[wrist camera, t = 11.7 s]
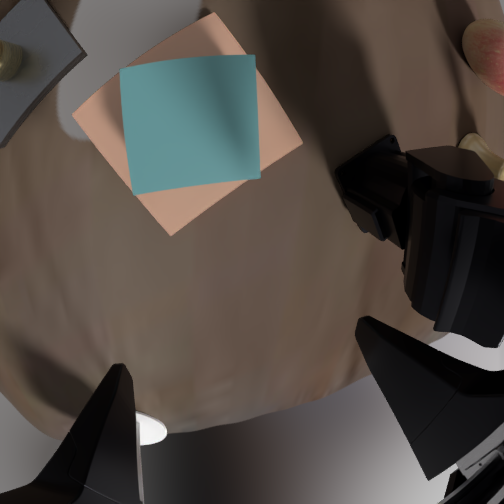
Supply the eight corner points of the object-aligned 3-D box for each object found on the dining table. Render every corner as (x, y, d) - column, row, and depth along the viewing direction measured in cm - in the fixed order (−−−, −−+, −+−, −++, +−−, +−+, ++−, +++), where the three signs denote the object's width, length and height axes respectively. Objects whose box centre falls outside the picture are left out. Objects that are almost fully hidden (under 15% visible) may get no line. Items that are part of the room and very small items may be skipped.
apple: (484, 103, 20) (538, 116, 13) (445, 59, 17) (510, 63, 10) (490, 51, 16) (539, 57, 10) (452, 5, 14) (507, 2, 7)
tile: (213, 16, 13) (214, 12, 12) (298, 142, 18) (303, 143, 18) (75, 114, 14) (71, 114, 13) (171, 231, 19) (170, 236, 19)
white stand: (82, 397, 25) (73, 508, 12) (171, 411, 29) (185, 522, 16) (92, 436, 30) (91, 520, 17) (162, 446, 34) (173, 530, 21)
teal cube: (234, 71, 15) (255, 54, 10) (239, 161, 17) (260, 178, 13) (137, 82, 14) (119, 69, 9) (146, 173, 16) (133, 195, 12)
